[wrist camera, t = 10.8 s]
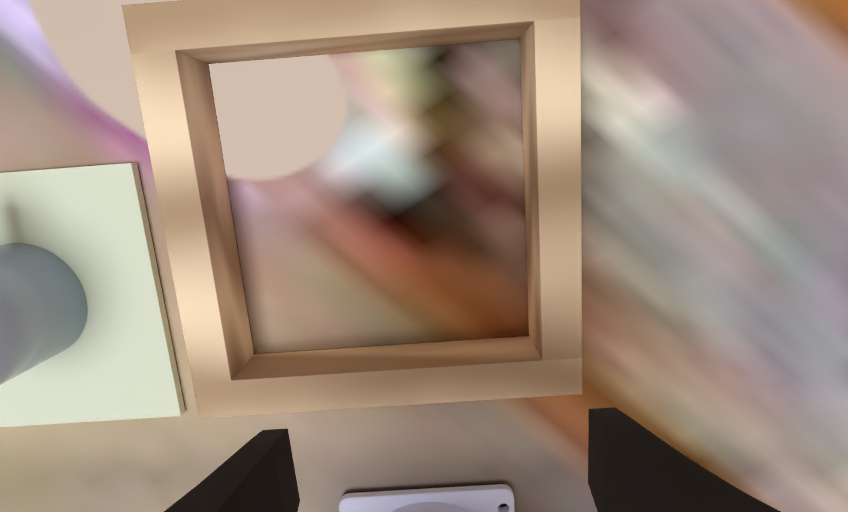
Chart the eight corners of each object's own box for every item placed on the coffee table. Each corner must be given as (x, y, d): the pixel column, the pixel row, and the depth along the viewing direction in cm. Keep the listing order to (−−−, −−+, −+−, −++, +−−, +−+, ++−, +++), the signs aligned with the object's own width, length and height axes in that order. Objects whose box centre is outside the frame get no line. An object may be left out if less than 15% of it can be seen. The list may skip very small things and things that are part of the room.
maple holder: (564, 365, 21) (582, 393, 19) (225, 387, 21) (199, 418, 19) (559, -8, 18) (579, -34, 15) (162, 25, 18) (121, 5, 16)
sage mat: (185, 411, 22) (180, 415, 21) (-53, 426, 22) (-62, 431, 21) (137, 162, 19) (131, 163, 19) (-129, 182, 20) (-140, 183, 19)
